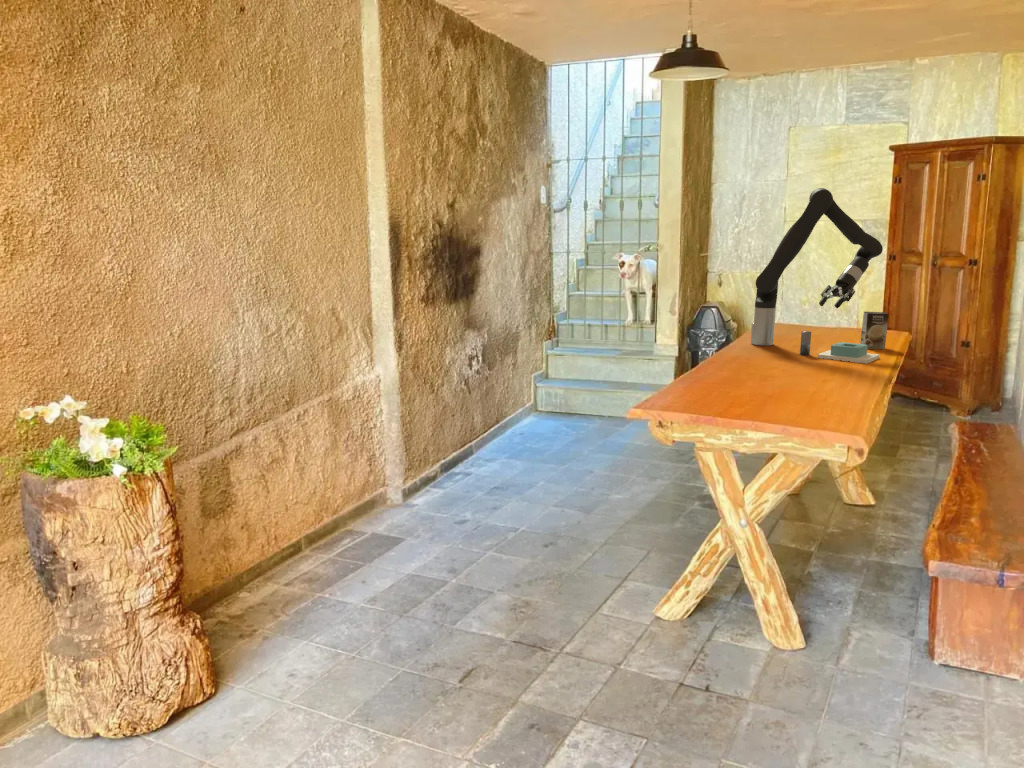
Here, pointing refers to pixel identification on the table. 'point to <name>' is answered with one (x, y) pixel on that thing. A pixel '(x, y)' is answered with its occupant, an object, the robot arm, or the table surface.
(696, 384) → the table surface
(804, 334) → the dark grey tall block
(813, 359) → the table surface
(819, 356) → the socket board
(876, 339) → the coffee box
